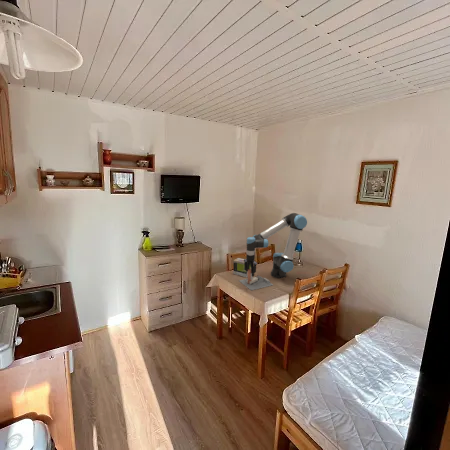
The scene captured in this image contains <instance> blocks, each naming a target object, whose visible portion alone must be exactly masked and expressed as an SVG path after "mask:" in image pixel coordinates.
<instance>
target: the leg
mask: <svg viewBox="0 0 450 450" xmlns="http://www.w3.org/2000/svg"><path fill="white" fill-rule="evenodd" d="M251 273H252V272H251V269H248V278H247V279H248V280H247V283H248V284H252V283H254V282H256V281H258V278H256V277H257V276H253V277H254V278H253V279H252V280H251Z"/></svg>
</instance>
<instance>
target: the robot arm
mask: <svg viewBox="0 0 450 450" xmlns="http://www.w3.org/2000/svg"><path fill="white" fill-rule="evenodd" d="M307 225H308V219H307V218H306V217H305V215H302V214H299V213H295V212H292V213H289V214H287V215H286V216H283V217H282V218H281V220H279V221H278V222H276V223H274V224H273V225H271V226H270V227H268V228H266V229H265V230H263V231H262V232H260V233H258V234H254V235H253V236H252V237H251V236H248V237H247V238H246V255H245V260H244V268H245V270H246V274H247V277H246V279H248V269H249V266H251V272H252V273H251V280H252V279H253V277H255V273H257V265H258V262H257V261H256V260H255V258H256V257H255V254H256V249H258V248H259V249H261V248H263V249H264V248H268V246H269V240H268V238H271V236H273V235H275V234H276V233H278V232H279V231H281V230H283V229H285V228H288V227H289V229H290V231H289V234H288V237H287V240H286V244H285V248H284V250H283V252H274V253H273V255H272V258H273V259H272V269H271V271H270V276H271V277H272V278H275V279H284V278H286V277H287V273H289V272H291V271H292V270H293V269H294V268H295V267H294V263H293V262H294V257H293V256H294V253H295V250H296V247H297V244H298V241H299V236H300V234H301V232H302V231H303V229H305V228H306V227H307Z"/></svg>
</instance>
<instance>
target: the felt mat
mask: <svg viewBox="0 0 450 450" xmlns="http://www.w3.org/2000/svg"><path fill="white" fill-rule="evenodd" d="M258 276H259V280H258V281H256V282H254V283H252V284H248V283H247V280H248V278H245V279H240V280H238V282H240V283H241V284H242V285H243V286H245V288H247V289H248V290H250V291H251V292H252V291H256V290H259V289H264V288H268V287H272V286H274V284H273V283H271V282H270V283H269V284H267V283H266V282H264V281H263V278H264V277H262V276H260V275H258ZM254 277H256V278H257V276H253V278H254Z"/></svg>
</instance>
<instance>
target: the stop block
mask: <svg viewBox="0 0 450 450" xmlns="http://www.w3.org/2000/svg"><path fill="white" fill-rule="evenodd" d="M262 278H263V281H264V282H266V283H267V284H269V283H271V280H270V279H268V278H266V277H262Z"/></svg>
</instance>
